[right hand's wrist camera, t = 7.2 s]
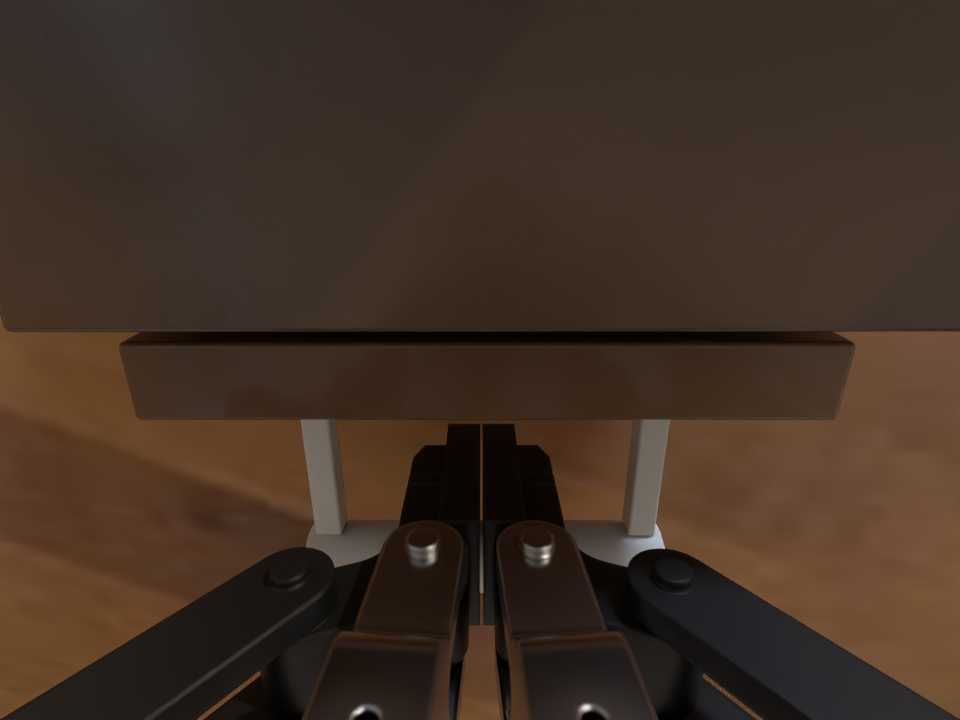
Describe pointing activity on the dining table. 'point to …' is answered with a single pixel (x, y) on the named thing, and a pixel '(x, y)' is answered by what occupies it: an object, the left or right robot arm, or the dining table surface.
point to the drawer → (487, 398)
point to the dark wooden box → (479, 165)
